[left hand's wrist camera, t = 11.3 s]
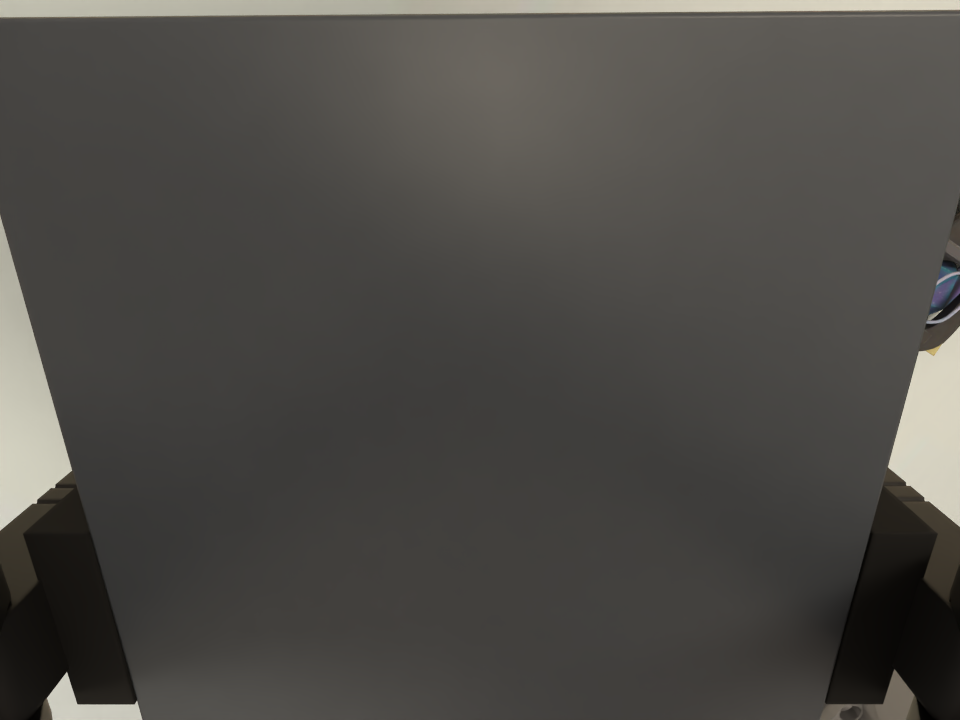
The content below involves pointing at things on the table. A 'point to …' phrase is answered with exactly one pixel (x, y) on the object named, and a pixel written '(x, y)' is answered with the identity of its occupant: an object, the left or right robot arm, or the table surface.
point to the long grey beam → (480, 345)
